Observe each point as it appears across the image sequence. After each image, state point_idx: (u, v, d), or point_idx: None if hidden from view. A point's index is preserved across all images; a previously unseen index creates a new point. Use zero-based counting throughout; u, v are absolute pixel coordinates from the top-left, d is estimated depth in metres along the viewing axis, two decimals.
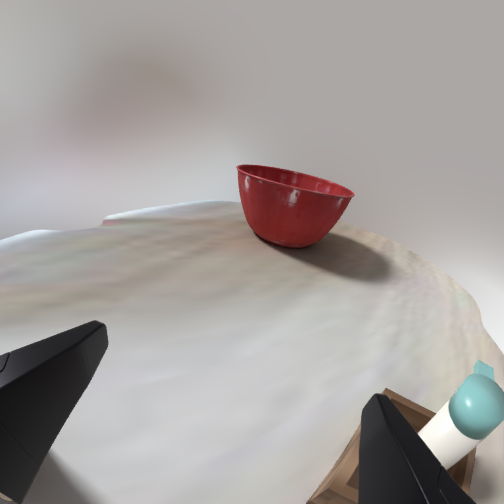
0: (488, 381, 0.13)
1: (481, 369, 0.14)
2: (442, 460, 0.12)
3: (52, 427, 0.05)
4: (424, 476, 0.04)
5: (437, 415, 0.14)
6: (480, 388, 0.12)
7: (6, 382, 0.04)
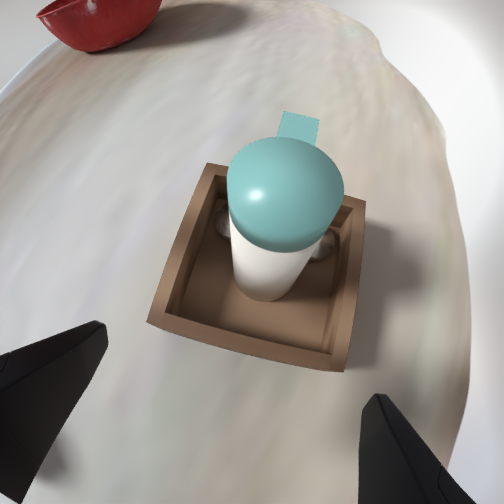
0: (296, 147, 0.12)
1: (285, 127, 0.12)
2: (264, 273, 0.15)
3: (52, 427, 0.05)
4: (424, 476, 0.04)
5: None
6: (269, 166, 0.11)
7: (6, 382, 0.04)
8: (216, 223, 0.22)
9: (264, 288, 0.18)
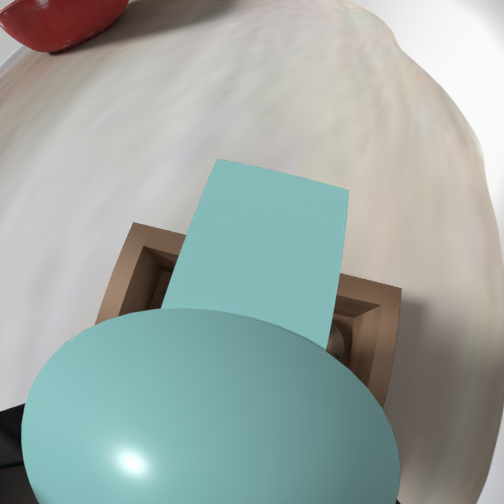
0: (241, 370, 0.03)
1: (207, 246, 0.03)
2: None
3: None
4: None
5: None
6: (126, 459, 0.02)
7: None
8: None
9: None
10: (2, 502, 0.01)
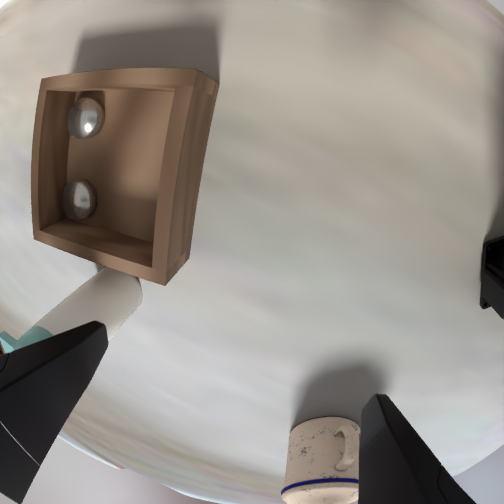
0: None
1: None
2: None
3: (52, 427, 0.05)
4: (424, 476, 0.04)
5: None
6: None
7: (6, 382, 0.04)
8: (81, 218, 0.19)
9: (120, 317, 0.20)
10: None
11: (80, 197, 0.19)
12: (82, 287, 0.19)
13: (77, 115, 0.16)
